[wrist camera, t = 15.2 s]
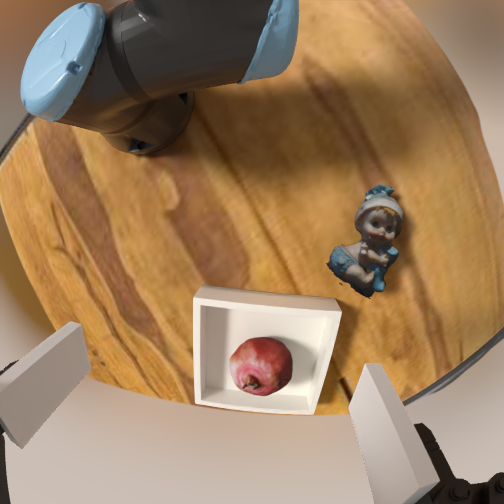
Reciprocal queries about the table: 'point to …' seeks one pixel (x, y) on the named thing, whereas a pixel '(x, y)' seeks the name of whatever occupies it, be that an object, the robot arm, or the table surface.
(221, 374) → the dish
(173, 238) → the table surface
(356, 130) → the table surface
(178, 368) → the table surface
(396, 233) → the figurine
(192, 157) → the table surface
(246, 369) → the fruit
